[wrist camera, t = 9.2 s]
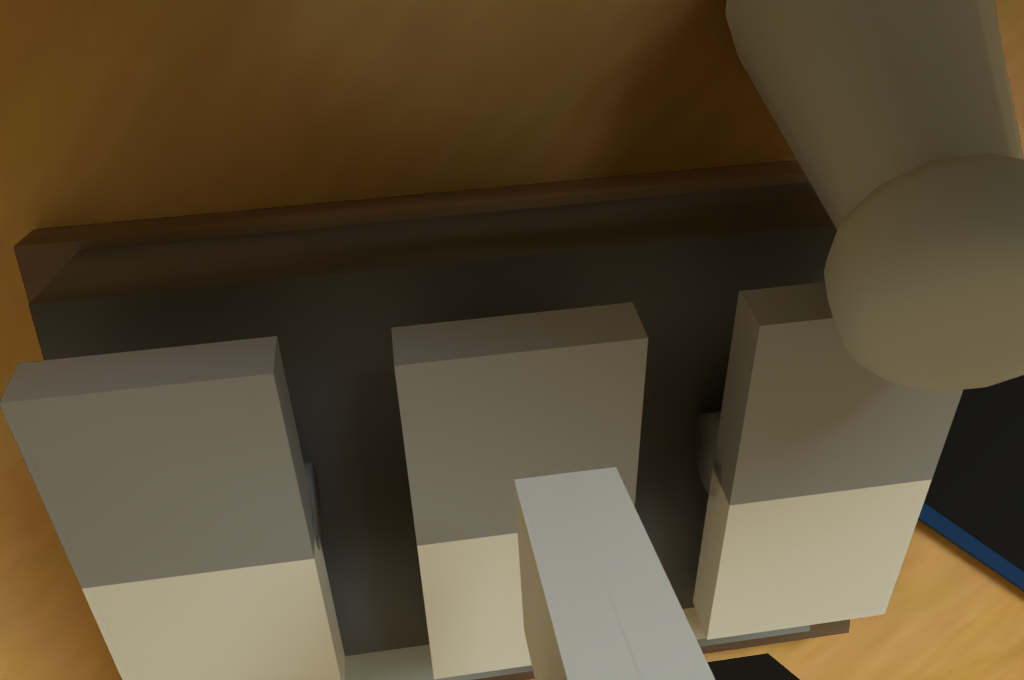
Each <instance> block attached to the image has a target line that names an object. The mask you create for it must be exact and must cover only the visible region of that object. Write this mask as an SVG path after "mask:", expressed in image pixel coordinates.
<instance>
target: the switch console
mask: <svg viewBox="0 0 1024 680" xmlns="http://www.w3.org/2000/svg"><path fill="white" fill-rule="evenodd" d="M836 232H837V229H836V227H835V225H834V224H833V222H832V220H831V218H830V217H829V215H828V213H827V211H826V210H825V208H824V206H823V204H822V203H821V201H820V199H819V197H818V196H817V194H816V192H815V190H814V189H813V187H812V185H811V183H810V182H809V180H808V178H807V177H806V175H805V173H804V171H803V170H802V168H801V166H800V164H799V163H798V161H797V160H794V161H783V162H772V163H761V164H750V165H739V166H728V167H717V168H706V169H695V170H684V171H673V172H662V173H651V174H640V175H629V176H618V177H607V178H596V179H585V180H574V181H563V182H552V183H541V184H530V185H519V186H508V187H497V188H486V189H475V190H465V191H454V192H443V193H432V194H421V195H410V196H399V197H388V198H377V199H366V200H355V201H344V202H333V203H322V204H311V205H300V206H289V207H278V208H267V209H256V210H245V211H234V212H223V213H212V214H201V215H190V216H179V217H168V218H157V219H146V220H135V221H124V222H114V223H103V224H92V225H81V226H70V227H59V228H48V229H37V230H33V231H31V232H30V233H29V234H28V235H27V236H26V237H24V238H23V239H22V240H21V241H20V242H19V243H18V244H16V245H15V246H14V250H15V254H16V257H17V261H18V264H19V268H20V272H21V275H22V279H23V282H24V286H25V289H26V293H27V297H28V300H29V308H30V312H31V315H32V319H33V322H34V326H35V329H36V333H37V336H38V340H39V344H40V347H41V351H42V354H43V358H44V361H45V360H54V359H64V358H73V357H83V356H92V355H102V354H111V353H121V352H130V351H140V350H149V349H159V348H169V347H178V346H188V345H197V344H207V343H216V342H226V341H235V340H245V339H254V338H264V337H273V336H277V339H278V344H279V349H280V353H281V358H282V363H283V367H284V372H285V377H286V381H287V386H288V391H289V396H290V400H291V405H292V410H293V414H294V419H295V424H296V429H297V433H298V438H299V443H300V447H301V452H302V457H303V462H309V461H312V462H313V463H314V466H315V469H316V473H317V479H318V485H319V492H320V500H321V512H322V545H321V546H322V551H323V556H324V561H325V565H326V570H327V575H328V579H329V584H330V589H331V594H332V598H333V603H334V608H335V612H336V617H337V622H338V627H339V631H340V636H341V641H342V645H343V650H344V655H345V680H526V679H533V678H535V677H534V673H533V668H532V665H530V666H523V667H516V668H509V669H502V670H495V671H488V672H481V673H474V674H467V675H460V676H454V677H447V678H440V679H434V675H433V667H432V659H431V651H430V644H429V636H428V628H427V620H426V612H425V604H424V596H423V588H422V581H421V573H420V565H419V557H418V549H417V541H416V533H415V526H414V518H413V510H412V502H411V494H410V486H409V478H408V470H407V463H406V455H405V447H404V439H403V431H402V423H401V415H400V408H399V400H398V392H397V384H396V376H395V368H394V357H393V344H392V331H391V328H393V327H402V326H412V325H421V324H431V323H440V322H450V321H459V320H469V319H478V318H488V317H497V316H507V315H516V314H526V313H535V312H545V311H554V310H564V309H573V308H583V307H592V306H602V305H611V304H621V303H630V302H633V304H634V307H635V309H636V311H637V314H638V316H639V318H640V321H641V323H642V325H643V327H644V330H645V332H646V334H647V337H648V347H647V359H646V371H645V384H644V396H643V409H642V421H641V433H640V446H639V458H638V471H637V483H636V495H635V509H636V511H637V513H638V515H639V517H640V520H641V522H642V524H643V526H644V528H645V530H646V532H647V535H648V537H649V539H650V541H651V543H652V545H653V547H654V550H655V552H656V554H657V556H658V558H659V560H660V562H661V565H662V567H663V569H664V571H665V573H666V575H667V577H668V580H669V582H670V584H671V586H672V588H673V590H674V592H675V595H676V597H677V599H678V601H679V603H680V605H681V607H682V610H683V612H684V614H685V616H686V618H687V620H688V622H689V624H690V627H691V629H692V631H693V633H694V635H695V637H696V639H697V642H698V644H699V646H700V648H701V650H702V652H703V654H705V653H711V652H718V651H725V650H732V649H739V648H746V647H753V646H760V645H766V644H773V643H780V642H787V641H794V640H801V639H808V638H815V637H821V636H828V635H835V634H842V633H849V625H850V619H849V620H842V621H835V622H828V623H821V624H814V625H807V626H800V627H793V628H786V629H779V630H772V631H765V632H758V633H751V634H744V635H738V636H731V637H724V638H717V639H710V640H707V639H706V636H705V634H704V631H703V628H702V625H701V623H700V620H699V617H698V614H697V612H696V609H695V606H694V603H693V597H694V591H695V584H696V577H697V570H698V564H699V557H700V550H701V544H702V537H703V530H704V523H705V517H706V510H707V503H708V497H709V495H708V493H707V492H706V490H705V488H704V486H703V483H702V481H701V478H700V474H699V471H698V466H697V461H696V455H695V444H694V432H695V424H696V420H697V418H698V416H699V415H700V414H705V413H714V412H721V409H722V402H723V396H724V389H725V382H726V376H727V369H728V362H729V355H730V349H731V342H732V335H733V328H734V322H735V315H736V308H737V302H738V295H739V291H745V290H755V289H764V288H774V287H783V286H793V285H802V284H812V283H821V282H825V277H824V269H825V265H826V261H827V257H828V254H829V252H830V249H831V246H832V243H833V240H834V238H835V235H836Z"/></svg>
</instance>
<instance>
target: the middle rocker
mask: <svg viewBox="0 0 1024 680" xmlns="http://www.w3.org/2000/svg"><path fill="white" fill-rule="evenodd" d="M391 331H392V344H393V357H394V368H395V376H396V384H397V392H398V400H399V408H400V415H401V423H402V431H403V439H404V447H405V455H406V463H407V470H408V478H409V486H410V494H411V502H412V510H413V518H414V526H415V533H416V541H417V549H418V557H419V565H420V573H421V581H422V588H423V596H424V604H425V612H426V620H427V628H428V636H429V644H430V651H431V659H432V667H433V675H434V679H440V678H447V677H454V676H460V675H467V674H474V673H481V672H488V671H495V670H502V669H509V668H516V667H523V666H530V665H532V664H531V659H530V655H529V650H528V646H527V641H526V637H525V632H524V622H523V607H522V592H521V577H520V562H519V547H518V532H517V517H516V502H515V487H514V480H515V479H523V478H531V477H539V476H547V475H555V474H563V473H571V472H579V471H587V470H595V469H604V468H612V467H616V468H617V470H618V473H619V475H620V477H621V479H622V481H623V483H624V485H625V488H626V490H627V492H628V494H629V496H630V498H631V500H632V503H633V505H634V507H635V495H636V483H637V471H638V458H639V446H640V433H641V421H642V409H643V396H644V384H645V371H646V359H647V347H648V337H647V334H646V332H645V330H644V327H643V325H642V323H641V321H640V318H639V316H638V314H637V311H636V309H635V307H634V304H633V302H630V303H621V304H611V305H602V306H592V307H583V308H573V309H564V310H554V311H545V312H535V313H526V314H516V315H507V316H497V317H488V318H478V319H469V320H459V321H450V322H440V323H431V324H421V325H412V326H402V327H393V328H391Z"/></svg>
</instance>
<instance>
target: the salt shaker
mask: <svg viewBox="0 0 1024 680" xmlns="http://www.w3.org/2000/svg"><path fill="white" fill-rule="evenodd" d="M725 15H726V18H727V21H728V25H729V28H730V32H731V35H732V38H733V42H734V45H735V48H736V52H737V55H738V58H739V60H740V61H741V63H742V65H743V67H744V68H745V70H746V72H747V74H748V75H749V77H750V79H751V81H752V82H753V84H754V86H755V88H756V89H757V91H758V93H759V95H760V96H761V98H762V100H763V101H764V103H765V105H766V107H767V108H768V110H769V112H770V114H771V115H772V117H773V119H774V121H775V122H776V124H777V126H778V128H779V129H780V131H781V133H782V135H783V136H784V138H785V140H786V142H787V143H788V145H789V147H790V149H791V150H792V152H793V154H794V156H795V157H796V159H797V161H798V163H799V164H800V166H801V168H802V170H803V171H804V173H805V175H806V177H807V178H808V180H809V182H810V183H811V185H812V187H813V189H814V190H815V192H816V194H817V196H818V197H819V199H820V201H821V203H822V204H823V206H824V208H825V210H826V211H827V213H828V215H829V217H830V218H831V220H832V222H833V224H834V225H835V227H836V229H837V232H836V235H835V238H834V240H833V243H832V246H831V249H830V252H829V254H828V257H827V261H826V265H825V269H824V277H825V284H826V292H827V299H828V302H829V306H830V309H831V312H832V316H833V319H834V322H835V326H836V329H837V332H838V334H839V336H840V338H841V340H842V342H843V344H844V346H845V348H846V350H847V352H848V354H849V356H850V358H851V359H853V360H854V361H856V362H857V363H859V364H861V365H862V366H864V367H865V368H867V369H868V370H870V371H871V372H873V373H874V374H876V375H877V376H879V377H880V378H882V379H885V380H888V381H892V382H895V383H898V384H902V385H907V386H912V387H917V388H923V389H928V390H933V391H938V392H943V391H953V390H963V389H973V388H983V387H988V386H991V385H994V384H997V383H1000V382H1003V381H1007V380H1010V379H1013V378H1016V377H1019V376H1022V375H1024V157H1023V152H1022V147H1021V142H1020V136H1019V131H1018V126H1017V121H1016V116H1015V111H1014V105H1013V100H1012V95H1011V90H1010V85H1009V80H1008V74H1007V69H1006V64H1005V59H1004V54H1003V49H1002V43H1001V38H1000V33H999V26H998V20H997V13H996V7H995V0H727V3H726V11H725Z"/></svg>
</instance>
